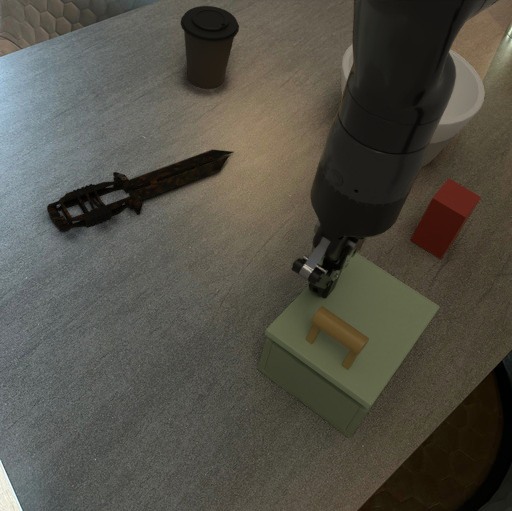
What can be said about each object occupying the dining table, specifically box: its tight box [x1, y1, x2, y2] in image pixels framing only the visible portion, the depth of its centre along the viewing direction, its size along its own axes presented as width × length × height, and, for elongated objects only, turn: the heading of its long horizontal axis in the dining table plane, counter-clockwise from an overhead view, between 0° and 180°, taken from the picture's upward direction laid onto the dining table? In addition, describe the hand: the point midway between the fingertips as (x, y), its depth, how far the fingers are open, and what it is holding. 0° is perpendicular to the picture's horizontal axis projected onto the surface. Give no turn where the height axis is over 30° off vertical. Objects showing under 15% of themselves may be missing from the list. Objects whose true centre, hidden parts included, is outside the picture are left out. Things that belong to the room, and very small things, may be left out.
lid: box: [263, 252, 441, 410], centre depth 60 cm, size 15×12×5 cm
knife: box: [46, 149, 234, 232], centre depth 78 cm, size 25×6×1 cm, turn 118°
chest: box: [257, 324, 429, 439], centre depth 65 cm, size 15×12×6 cm
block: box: [410, 177, 482, 260], centre depth 76 cm, size 4×4×8 cm
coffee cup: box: [180, 5, 240, 90], centre depth 89 cm, size 8×8×10 cm
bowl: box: [340, 42, 486, 168], centre depth 86 cm, size 19×19×11 cm
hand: (320, 289), depth 62 cm, fingers closed
